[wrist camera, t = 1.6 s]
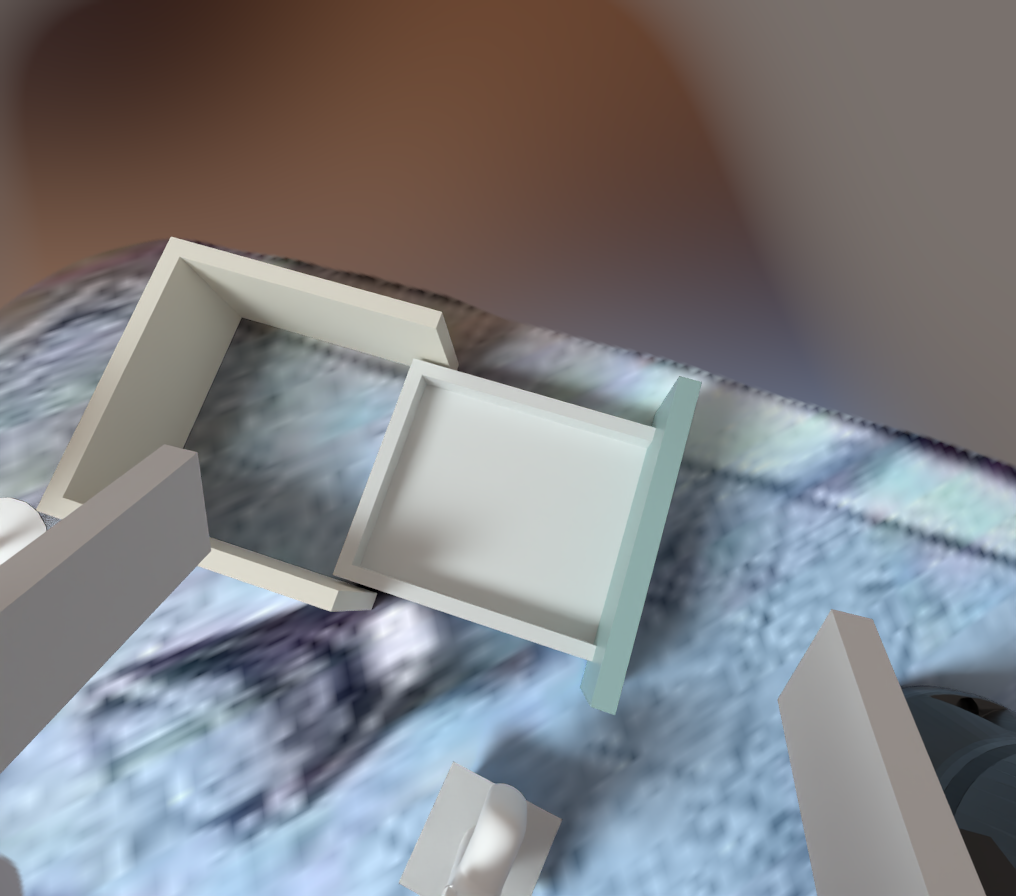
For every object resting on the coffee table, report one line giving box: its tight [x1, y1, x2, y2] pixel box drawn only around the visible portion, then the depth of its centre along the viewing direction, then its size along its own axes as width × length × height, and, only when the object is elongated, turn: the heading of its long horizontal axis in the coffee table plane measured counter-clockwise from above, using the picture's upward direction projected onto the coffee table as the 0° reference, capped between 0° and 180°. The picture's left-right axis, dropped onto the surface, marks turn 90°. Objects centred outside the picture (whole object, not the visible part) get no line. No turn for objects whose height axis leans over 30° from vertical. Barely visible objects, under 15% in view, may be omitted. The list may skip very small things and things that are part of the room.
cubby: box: [36, 237, 459, 611], centre depth 43 cm, size 19×19×9 cm
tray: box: [332, 359, 702, 715], centre depth 41 cm, size 19×20×8 cm
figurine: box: [399, 762, 562, 896], centre depth 33 cm, size 7×9×15 cm
